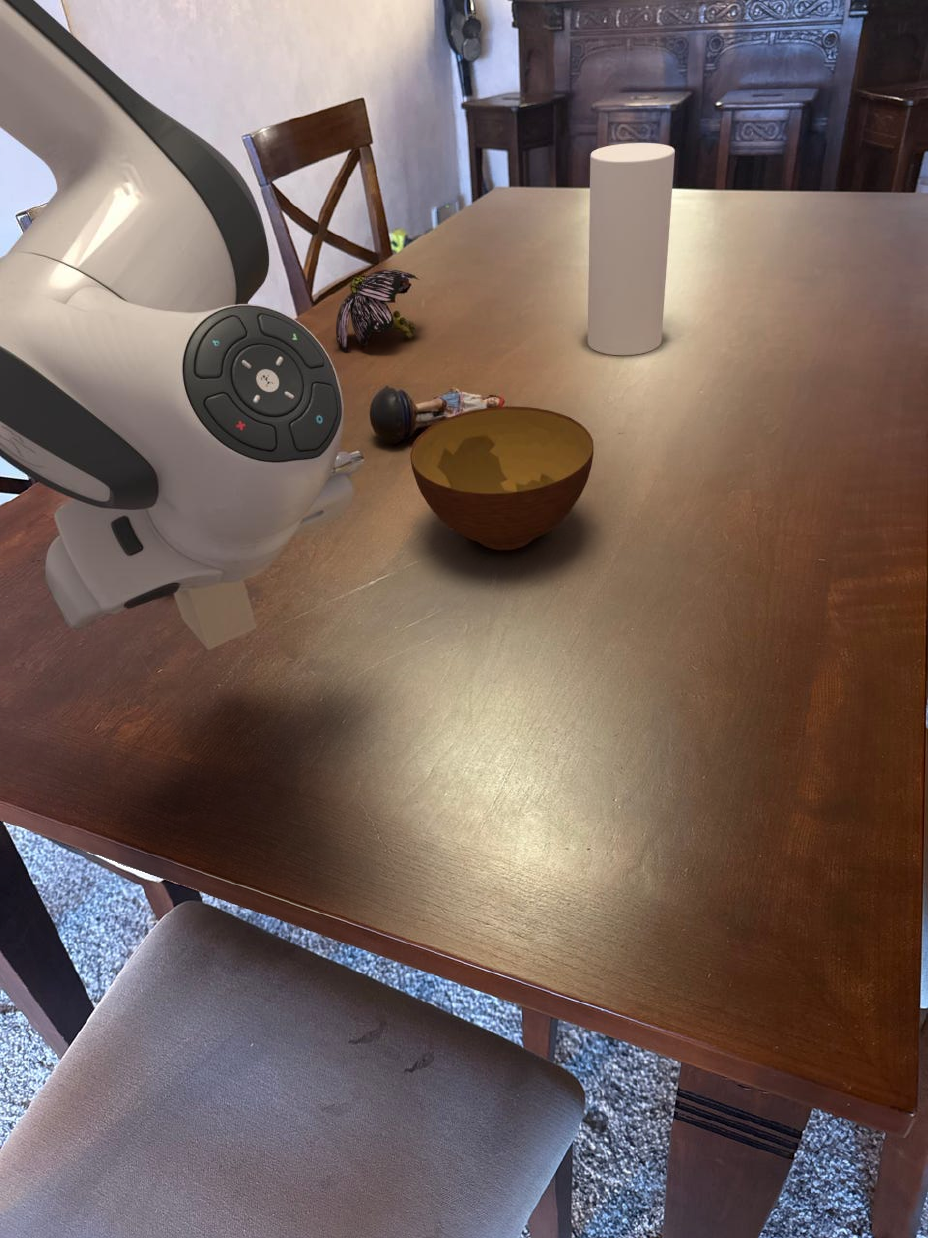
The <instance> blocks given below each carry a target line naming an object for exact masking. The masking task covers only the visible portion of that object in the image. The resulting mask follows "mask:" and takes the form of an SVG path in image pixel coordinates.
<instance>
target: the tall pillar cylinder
mask: <svg viewBox="0 0 928 1238" xmlns="http://www.w3.org/2000/svg"><path fill="white" fill-rule="evenodd" d="M675 153H676V150H675V148H674V147H672V146H670V145H667V144H663V143H657V142H656V143H655V142H654V143H653V142H628V143H619V144H612V145H611V144H610V145H607V146H603V147H600V148H597V149H595V150H592V152H591V153H590V157H589V158H590V160H589V161H590V163H589V219H588V220H589V221H588V223H589V225H588V226H589V227H588V282H587V283H588V286H587V287H588V288H587V289H588V293H587V295H588V296H587V298H588V299H587V345H588V346H589V348H590V349H592V350H594V351H596V352H598V353H601V354H604V355H612V356H634V355H635V356H636V355H640V354H646V353H649V352H651V351H654V350H656V349H657V348H658V347H659V346H661V344H662V340H663V339H662V338H663V327H664V311H665V310H664V309H665V300H666V299H665V297H666V282H667V270H668V269H667V267H668V253H669V241H670V240H669V239H670V227H671V212H672V211H671V210H672V196H673V185H674V183H673V182H674V170H675V155H676V154H675Z"/></svg>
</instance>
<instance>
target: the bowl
mask: <svg viewBox="0 0 928 1238" xmlns="http://www.w3.org/2000/svg"><path fill="white" fill-rule="evenodd" d="M594 449H595V448H594V439H593V437H592V435H591V433H590V432H589V431H588V429H587V428H586V427H585V426H584V425H583V424H581V423H580V422H578V421H577V420H575V419H574V418H572V417H570V416H567V415H566V414H562V413H559V412H556V411H554V410H553V411H552V410H547V409H544V408H543V409H542V408H538V407H531V406H515V405H514V406H502V407H493V408H484V409H478V410H473V411H469V412H464V413H460V414H457V415H454V416H452V417H449V418H446V419H444V420H442V421H440V422H437V423H436V424H434V425H430V426H429V427H428V428H426V429H425V430H423V431H422V432H421V433H420V434H419V435H418V436H417V437H416V439H415V440H414V442H413V444H412V446H411V448H410V465H411V470H412V473H413V476H414V479H415V482H416V485H417V487H418V489H419V492H420V494H421V495H422V497H423V499H424V500H425V502H426V503H427V505H428V506H429V509H431V510H432V512H433V513H434V514H435V515H436V517H437V518H438V519H439V520H441V521H442V522H443V523H444V524H445V525H446V527H448V528H449V529H451V530H452V531H454V532H455V533H456V534H459V535H460V536H462V537H464V538H466V539H469V540H472V541H474V542H477V543H480V545H482V546H483V547H486V548H488V549H492V550H496V551H497V550H498V551H511V550H515V549H520V548H521V547H524V546H526V545H528V544H529V543H530V542H532V541H533V540H534V539H537V538H539V537H542V536H543V535H545V534H546V533H548V532H550V531H552V530H553V529H554V528H555V527H557V526H558V525H559V524H560V523H561V522H563V520H565V518H566V517H567V516H568V514H569V513H570V512H571V510H572V509H573V508H574V506H575V505H576V503H577V502H578V500H579V499H580V498H581V495H582V493H583V492H584V489H585V487H586V485H587V483H588V480H589V477H590V474H591V469H592V466H593V460H594V454H595V453H594Z"/></svg>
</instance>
